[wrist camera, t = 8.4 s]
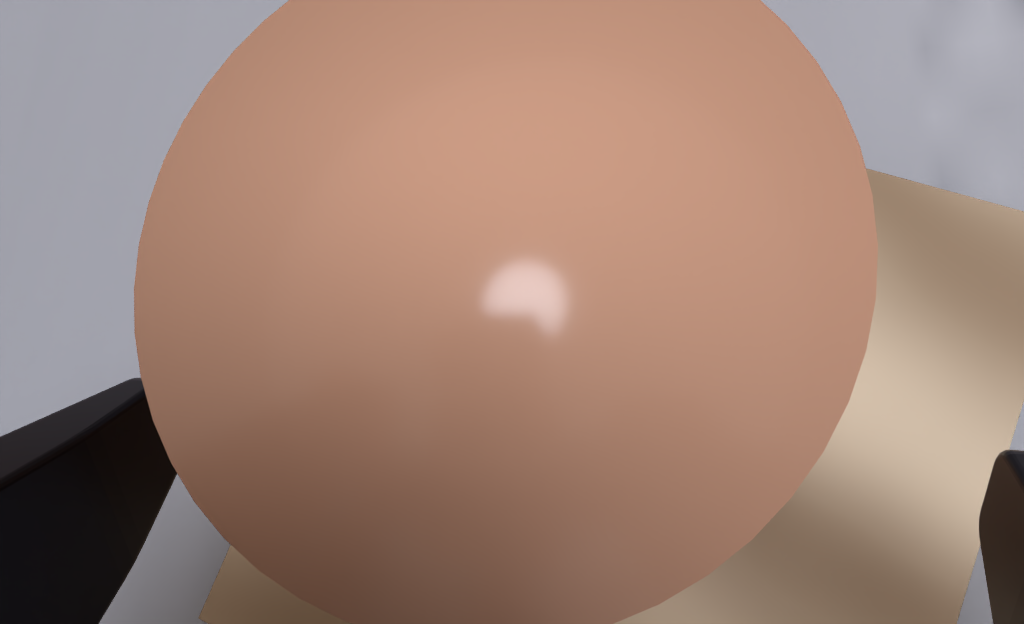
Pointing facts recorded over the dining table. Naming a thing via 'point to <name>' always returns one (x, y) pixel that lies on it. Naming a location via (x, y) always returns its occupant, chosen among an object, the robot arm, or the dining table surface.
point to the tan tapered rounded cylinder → (504, 299)
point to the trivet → (857, 445)
